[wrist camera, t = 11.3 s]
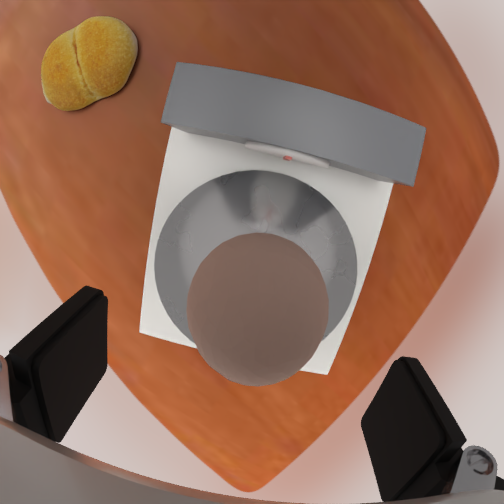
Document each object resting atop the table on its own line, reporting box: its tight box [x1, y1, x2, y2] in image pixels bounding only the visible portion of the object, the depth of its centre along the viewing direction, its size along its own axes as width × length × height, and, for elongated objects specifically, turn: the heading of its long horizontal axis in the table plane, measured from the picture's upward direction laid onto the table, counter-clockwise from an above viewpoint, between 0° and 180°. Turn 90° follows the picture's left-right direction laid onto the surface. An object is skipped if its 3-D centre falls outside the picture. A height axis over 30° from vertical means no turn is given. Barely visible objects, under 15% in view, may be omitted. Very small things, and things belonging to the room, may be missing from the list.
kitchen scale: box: [139, 62, 426, 375], centre depth 20 cm, size 17×14×10 cm
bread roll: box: [41, 16, 138, 111], centre depth 20 cm, size 8×9×4 cm
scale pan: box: [154, 170, 357, 343], centre depth 20 cm, size 13×13×1 cm
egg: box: [186, 232, 329, 386], centre depth 15 cm, size 7×7×9 cm
